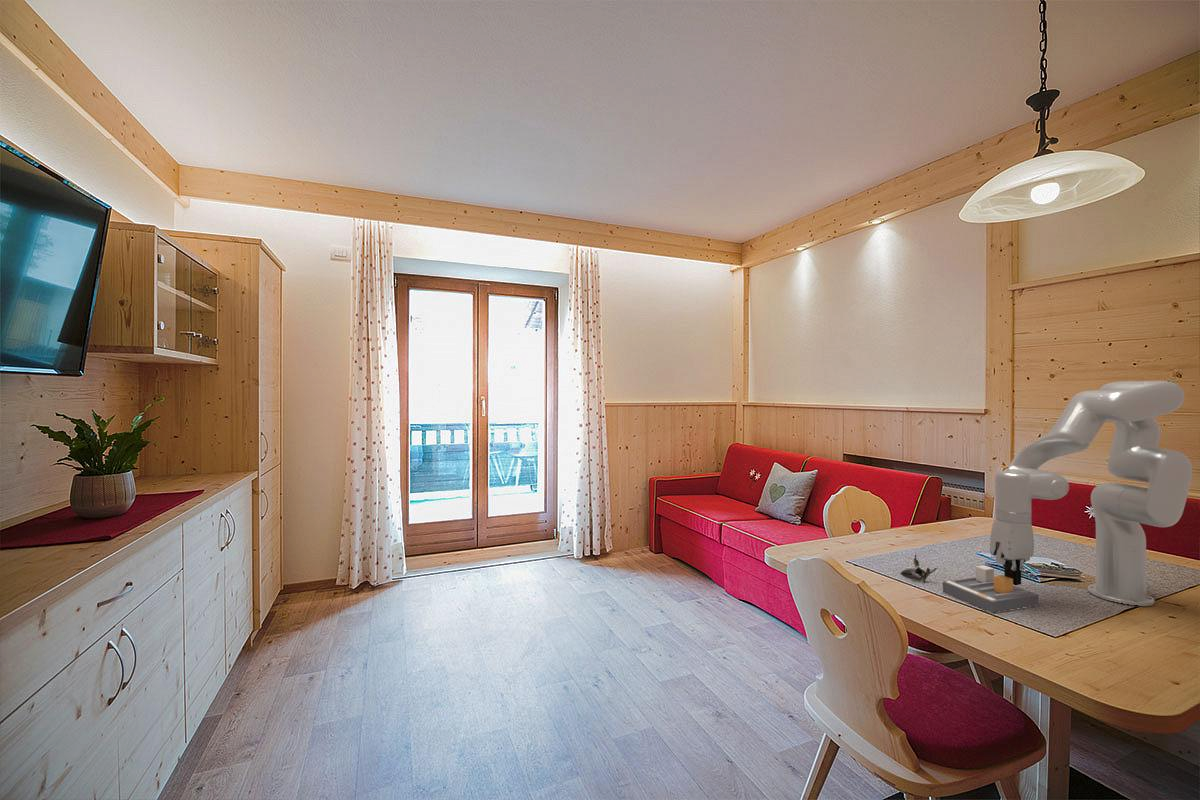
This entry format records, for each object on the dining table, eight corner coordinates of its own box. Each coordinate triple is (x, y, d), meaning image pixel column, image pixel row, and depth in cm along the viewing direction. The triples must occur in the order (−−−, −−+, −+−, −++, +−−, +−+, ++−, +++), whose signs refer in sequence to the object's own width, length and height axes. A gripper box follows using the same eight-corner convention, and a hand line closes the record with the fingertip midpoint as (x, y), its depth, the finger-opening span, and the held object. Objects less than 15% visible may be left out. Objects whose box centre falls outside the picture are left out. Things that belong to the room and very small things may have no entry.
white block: (984, 578, 141) (983, 565, 141) (993, 582, 139) (993, 568, 139) (975, 580, 141) (975, 566, 141) (985, 583, 138) (985, 569, 138)
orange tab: (1002, 589, 134) (1002, 575, 134) (1013, 593, 131) (1013, 578, 131) (993, 590, 133) (993, 576, 133) (1004, 594, 130) (1004, 580, 130)
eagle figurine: (942, 577, 148) (919, 562, 157) (933, 560, 146) (911, 546, 155) (921, 591, 148) (899, 575, 157) (912, 574, 146) (890, 559, 155)
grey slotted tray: (986, 585, 144) (986, 573, 144) (1038, 605, 131) (1038, 591, 131) (942, 591, 140) (942, 578, 140) (992, 613, 127) (992, 598, 127)
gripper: (1019, 511, 138) (1018, 575, 138) (977, 515, 135) (977, 580, 135) (1049, 518, 131) (1048, 585, 131) (1006, 522, 127) (1005, 591, 128)
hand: (1012, 583), depth 133 cm, fingers closed
